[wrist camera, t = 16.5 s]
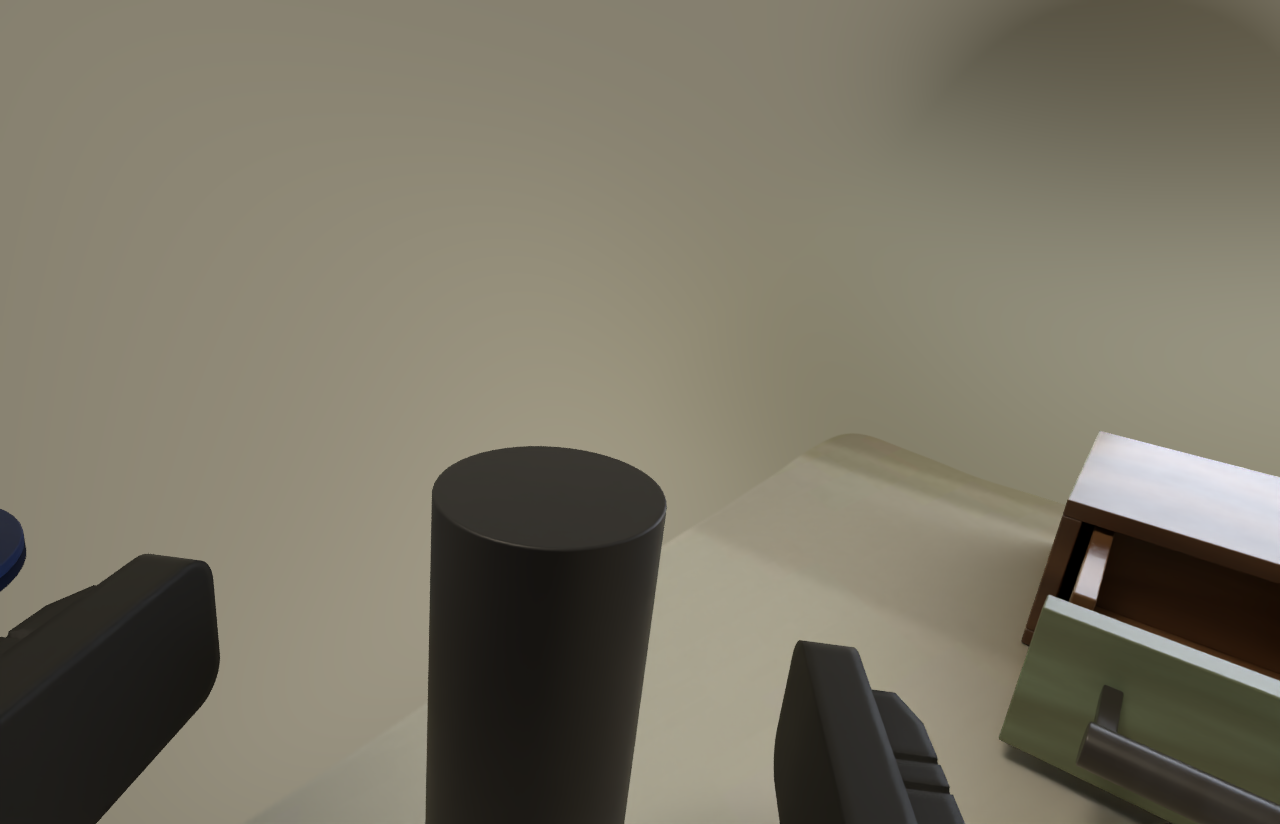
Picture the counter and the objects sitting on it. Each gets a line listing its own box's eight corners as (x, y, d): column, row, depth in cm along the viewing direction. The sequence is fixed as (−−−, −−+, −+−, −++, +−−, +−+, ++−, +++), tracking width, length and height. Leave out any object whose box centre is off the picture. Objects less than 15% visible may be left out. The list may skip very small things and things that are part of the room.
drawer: (1392, 1035, 19) (1504, 868, 17) (971, 808, 25) (1020, 662, 23) (1314, 703, 32) (1372, 587, 30) (1050, 603, 38) (1085, 499, 36)
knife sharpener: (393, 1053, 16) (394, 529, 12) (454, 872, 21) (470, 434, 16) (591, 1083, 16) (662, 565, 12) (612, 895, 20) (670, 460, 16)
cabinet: (1335, 772, 29) (1422, 608, 27) (1020, 642, 36) (1067, 499, 33) (1299, 624, 40) (1358, 497, 38) (1061, 544, 46) (1099, 430, 44)
